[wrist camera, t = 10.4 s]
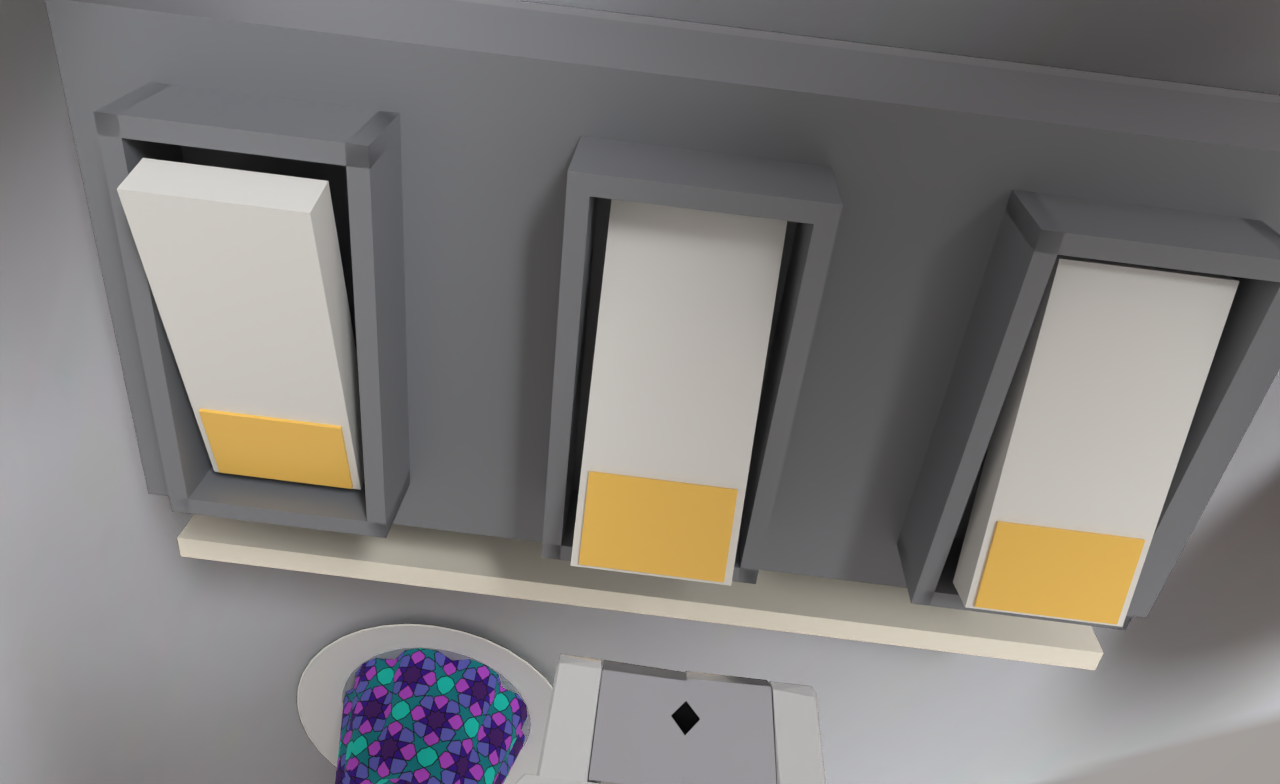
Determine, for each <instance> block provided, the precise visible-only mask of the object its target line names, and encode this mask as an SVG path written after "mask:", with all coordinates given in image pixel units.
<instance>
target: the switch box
mask: <svg viewBox="0 0 1280 784" xmlns="http://www.w3.org/2000/svg"><path fill="white" fill-rule="evenodd" d="M45 4H46V8H47V13H48V18H49V23H50V27H51V32H52V37H53V42H54V47H55V51H56V56H57V61H58V66H59V70H60V75H61V80H62V85H63V89H64V94H65V99H66V104H67V108H68V113H69V118H70V123H71V127H72V132H73V137H74V142H75V146H76V151H77V156H78V161H79V165H80V170H81V175H82V180H83V184H84V189H85V194H86V199H87V203H88V208H89V213H90V218H91V223H92V227H93V232H94V237H95V242H96V246H97V251H98V256H99V261H100V265H101V270H102V275H103V280H104V284H105V289H106V294H107V299H108V303H109V308H110V313H111V318H112V322H113V327H114V332H115V337H116V341H117V346H118V351H119V356H120V360H121V365H122V370H123V375H124V379H125V384H126V389H127V394H128V399H129V403H130V408H131V413H132V418H133V422H134V427H135V432H136V437H137V441H138V446H139V451H140V456H141V460H142V465H143V470H144V475H145V479H146V484H147V489H148V493H149V494H157V495H165V496H169V499H170V504H171V509H172V512H180V513H189V514H194V515H193V516H192V518H191V519H190V521H189V522H188V523H187V525H186V526H185V528H184V529H183V530H182V532H181V533H180V535H179V536H178V537H177V539H178V544H179V549H180V555H181V556H182V557H190V558H198V559H206V560H214V561H222V562H230V563H238V564H246V565H254V566H262V567H270V568H278V569H286V570H294V571H302V572H310V573H318V574H326V575H334V576H342V577H350V578H358V579H366V580H374V581H382V582H390V583H398V584H406V585H414V586H422V587H430V588H438V589H446V590H454V591H462V592H471V593H479V594H487V595H495V596H503V597H511V598H519V599H527V600H535V601H543V602H551V603H559V604H567V605H575V606H583V607H591V608H599V609H607V610H615V611H623V612H631V613H639V614H647V615H655V616H663V617H671V618H679V619H687V620H695V621H703V622H711V623H719V624H727V625H735V626H743V627H751V628H759V629H768V630H776V631H784V632H792V633H800V634H808V635H816V636H824V637H832V638H840V639H848V640H856V641H864V642H872V643H880V644H888V645H896V646H904V647H912V648H920V649H928V650H936V651H944V652H952V653H960V654H968V655H976V656H984V657H992V658H1000V659H1008V660H1016V661H1024V662H1032V663H1040V664H1048V665H1057V666H1065V667H1073V668H1081V669H1089V670H1095V669H1096V667H1097V665H1098V663H1099V661H1100V659H1101V657H1102V655H1103V651H1102V648H1101V646H1100V644H1099V642H1098V639H1097V637H1096V635H1095V633H1094V631H1093V628H1092V626H1096V627H1104V628H1112V629H1120V630H1126V628H1127V626H1128V624H1129V622H1130V620H1131V618H1132V616H1136V617H1144V618H1146V617H1147V616H1148V614H1149V612H1150V610H1151V608H1152V606H1153V604H1154V603H1155V601H1156V599H1157V597H1158V595H1159V593H1160V591H1161V589H1162V588H1163V586H1164V584H1165V582H1166V580H1167V578H1168V576H1169V574H1170V573H1171V571H1172V569H1173V567H1174V565H1175V563H1176V561H1177V559H1178V558H1179V556H1180V554H1181V552H1182V550H1183V548H1184V546H1185V544H1186V543H1187V541H1188V539H1189V537H1190V535H1191V533H1192V531H1193V530H1194V528H1195V526H1196V524H1197V522H1198V520H1199V518H1200V516H1201V515H1202V513H1203V511H1204V509H1205V507H1206V505H1207V503H1208V501H1209V500H1210V498H1211V496H1212V494H1213V492H1214V490H1215V488H1216V486H1217V485H1218V483H1219V481H1220V479H1221V477H1222V475H1223V473H1224V471H1225V470H1226V468H1227V466H1228V464H1229V462H1230V460H1231V458H1232V456H1233V455H1234V453H1235V451H1236V449H1237V447H1238V445H1239V443H1240V442H1241V440H1242V438H1243V436H1244V434H1245V432H1246V430H1247V428H1248V427H1249V425H1250V423H1251V421H1252V419H1253V417H1254V415H1255V413H1256V412H1257V410H1258V408H1259V406H1260V404H1261V402H1262V400H1263V398H1264V397H1265V395H1266V393H1267V391H1268V389H1269V387H1270V385H1271V383H1272V382H1273V380H1274V378H1275V376H1276V374H1277V372H1278V370H1279V369H1280V95H1273V94H1265V93H1257V92H1249V91H1241V90H1233V89H1225V88H1217V87H1209V86H1201V85H1193V84H1185V83H1177V82H1169V81H1161V80H1153V79H1145V78H1137V77H1129V76H1121V75H1112V74H1104V73H1096V72H1088V71H1080V70H1072V69H1064V68H1056V67H1048V66H1040V65H1032V64H1024V63H1016V62H1008V61H1000V60H992V59H984V58H976V57H968V56H960V55H952V54H944V53H936V52H928V51H920V50H912V49H904V48H896V47H888V46H880V45H872V44H864V43H856V42H848V41H840V40H832V39H824V38H816V37H808V36H800V35H792V34H784V33H776V32H768V31H760V30H752V29H744V28H736V27H727V26H719V25H711V24H703V23H695V22H687V21H679V20H671V19H663V18H655V17H647V16H639V15H631V14H623V13H615V12H607V11H599V10H591V9H583V8H575V7H567V6H559V5H551V4H543V3H535V2H527V1H519V0H45ZM142 158H148V159H156V160H164V161H172V162H180V163H188V164H196V165H204V166H212V167H220V168H229V169H237V170H245V171H253V172H261V173H269V174H277V175H285V176H293V177H301V178H309V179H317V180H325V181H329V188H330V194H331V200H332V206H333V212H334V218H335V224H336V230H337V237H338V243H339V249H340V255H341V261H342V267H343V273H344V280H345V286H346V292H347V298H348V304H349V310H350V316H351V323H352V329H353V335H354V341H355V347H356V353H357V359H358V376H359V393H360V411H361V428H362V445H363V462H364V479H365V480H364V483H363V485H362V488H361V490H359V489H348V488H340V487H332V486H324V485H316V484H308V483H300V482H292V481H284V480H276V479H268V478H260V477H252V476H244V475H236V474H228V473H220V472H215V471H214V469H213V466H212V463H211V460H210V458H209V455H208V452H207V449H206V446H205V443H204V440H203V437H202V434H201V432H200V429H199V426H198V423H197V420H196V417H195V414H194V411H193V408H192V406H191V403H190V400H189V397H188V394H187V391H186V388H185V385H184V382H183V379H182V377H181V374H180V371H179V368H178V365H177V362H176V359H175V356H174V353H173V351H172V348H171V345H170V342H169V339H168V336H167V333H166V330H165V327H164V325H163V322H162V319H161V316H160V313H159V310H158V307H157V304H156V301H155V298H154V296H153V293H152V290H151V287H150V284H149V281H148V278H147V275H146V272H145V270H144V267H143V264H142V261H141V258H140V255H139V252H138V249H137V246H136V243H135V241H134V238H133V235H132V232H131V229H130V226H129V223H128V220H127V217H126V215H125V212H124V209H123V206H122V203H121V200H120V197H119V194H118V191H117V188H118V187H119V185H120V184H121V183H122V182H123V181H124V180H125V178H126V177H127V176H128V175H129V174H130V172H131V171H132V170H133V169H134V168H135V167H136V165H137V164H138V163H139V162H140V161H141V160H142ZM612 199H615V200H623V201H631V202H639V203H647V204H655V205H663V206H671V207H679V208H687V209H695V210H703V211H711V212H719V213H727V214H735V215H744V216H752V217H760V218H768V219H776V220H784V221H787V226H786V233H785V239H784V246H783V252H782V259H781V265H780V272H779V278H778V285H777V291H776V298H775V304H774V311H773V317H772V324H771V330H770V337H769V343H768V350H767V356H766V363H765V369H764V376H763V382H762V389H761V395H760V402H759V408H758V415H757V421H756V427H755V434H754V440H753V447H752V453H751V460H750V466H749V473H748V479H747V486H746V492H745V499H744V505H743V512H742V518H741V525H740V531H739V538H738V544H737V551H736V557H735V564H734V570H733V577H732V583H731V586H729V585H721V584H713V583H705V582H697V581H689V580H681V579H673V578H665V577H657V576H649V575H641V574H633V573H625V572H617V571H609V570H601V569H593V568H585V567H577V566H570V565H571V556H572V547H573V538H574V529H575V520H576V512H577V503H578V494H579V485H580V476H581V467H582V458H583V449H584V440H585V432H586V423H587V414H588V405H589V396H590V387H591V378H592V369H593V360H594V351H595V343H596V334H597V325H598V316H599V307H600V298H601V289H602V280H603V271H604V263H605V254H606V245H607V236H608V227H609V218H610V209H611V200H612ZM1057 255H1064V256H1072V257H1080V258H1088V259H1097V260H1105V261H1113V262H1121V263H1129V264H1137V265H1145V266H1153V267H1161V268H1169V269H1177V270H1185V271H1193V272H1201V273H1209V274H1217V275H1225V276H1229V277H1232V278H1234V279H1236V280H1238V281H1239V284H1238V287H1237V290H1236V293H1235V296H1234V299H1233V302H1232V305H1231V308H1230V311H1229V314H1228V317H1227V320H1226V322H1225V325H1224V328H1223V331H1222V334H1221V337H1220V340H1219V343H1218V346H1217V349H1216V352H1215V355H1214V358H1213V361H1212V364H1211V367H1210V370H1209V373H1208V376H1207V379H1206V381H1205V384H1204V387H1203V390H1202V393H1201V396H1200V399H1199V402H1198V405H1197V408H1196V411H1195V414H1194V417H1193V420H1192V423H1191V426H1190V429H1189V432H1188V435H1187V438H1186V441H1185V443H1184V446H1183V449H1182V452H1181V455H1180V458H1179V461H1178V464H1177V467H1176V470H1175V473H1174V476H1173V479H1172V482H1171V485H1170V488H1169V491H1168V494H1167V497H1166V500H1165V502H1164V505H1163V508H1162V511H1161V514H1160V517H1159V520H1158V523H1157V526H1156V529H1155V532H1154V535H1153V538H1152V541H1151V544H1150V547H1149V550H1148V553H1147V556H1146V559H1145V562H1144V564H1143V567H1142V570H1141V573H1140V576H1139V579H1138V582H1137V585H1136V588H1135V591H1134V594H1133V597H1132V600H1131V603H1130V606H1129V609H1128V612H1127V615H1126V618H1125V621H1124V623H1123V626H1122V627H1119V626H1111V625H1103V624H1095V623H1087V622H1079V621H1071V620H1063V619H1055V618H1046V617H1038V616H1030V615H1022V614H1014V613H1006V612H998V611H990V610H982V609H974V608H966V607H965V606H964V604H963V602H962V600H961V598H960V596H959V594H958V592H957V590H956V588H955V586H954V584H953V580H954V576H955V572H956V568H957V565H958V561H959V557H960V553H961V549H962V546H963V542H964V538H965V534H966V530H967V527H968V523H969V519H970V515H971V511H972V508H973V504H974V500H975V496H976V492H977V489H978V485H979V481H980V477H981V473H982V470H983V466H984V462H985V458H986V454H987V451H988V447H989V443H990V439H991V436H992V433H993V430H994V427H995V425H996V422H997V419H998V416H999V414H1000V411H1001V408H1002V405H1003V403H1004V400H1005V397H1006V395H1007V392H1008V389H1009V386H1010V384H1011V381H1012V378H1013V375H1014V373H1015V370H1016V367H1017V364H1018V362H1019V359H1020V356H1021V353H1022V351H1023V348H1024V345H1025V342H1026V340H1027V337H1028V334H1029V331H1030V329H1031V326H1032V323H1033V320H1034V318H1035V315H1036V312H1037V310H1038V307H1039V304H1040V301H1041V299H1042V296H1043V293H1044V290H1045V288H1046V285H1047V282H1048V279H1049V277H1050V274H1051V271H1052V268H1053V266H1054V263H1055V260H1056V257H1057Z"/></svg>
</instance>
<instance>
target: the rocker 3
mask: <svg viewBox="0 0 1280 784" xmlns="http://www.w3.org/2000/svg"><path fill="white" fill-rule="evenodd" d="M1238 284H1239V281H1238V280H1236V279H1234V278H1232V277H1229V276H1225V275H1217V274H1209V273H1201V272H1193V271H1185V270H1177V269H1169V268H1161V267H1153V266H1145V265H1137V264H1129V263H1121V262H1113V261H1105V260H1097V259H1088V258H1080V257H1072V256H1064V255H1057V257H1056V260H1055V263H1054V266H1053V268H1052V271H1051V274H1050V277H1049V279H1048V282H1047V285H1046V288H1045V290H1044V293H1043V296H1042V299H1041V301H1040V304H1039V307H1038V310H1037V312H1036V315H1035V318H1034V320H1033V323H1032V326H1031V329H1030V331H1029V334H1028V337H1027V340H1026V342H1025V345H1024V348H1023V351H1022V353H1021V356H1020V359H1019V362H1018V364H1017V367H1016V370H1015V373H1014V375H1013V378H1012V381H1011V384H1010V386H1009V389H1008V392H1007V395H1006V397H1005V400H1004V403H1003V405H1002V408H1001V411H1000V414H999V416H998V419H997V422H996V425H995V427H994V430H993V433H992V436H991V439H990V443H989V447H988V451H987V454H986V458H985V462H984V466H983V470H982V473H981V477H980V481H979V485H978V489H977V492H976V496H975V500H974V504H973V508H972V511H971V515H970V519H969V523H968V527H967V530H966V534H965V538H964V542H963V546H962V549H961V553H960V557H959V561H958V565H957V568H956V572H955V576H954V580H953V584H954V586H955V588H956V590H957V592H958V594H959V596H960V598H961V600H962V602H963V604H964V606H965V607H966V608H974V609H982V610H990V611H998V612H1006V613H1014V614H1022V615H1030V616H1038V617H1046V618H1055V619H1063V620H1071V621H1079V622H1087V623H1095V624H1103V625H1111V626H1119V627H1122V626H1123V623H1124V621H1125V618H1126V615H1127V612H1128V609H1129V606H1130V603H1131V600H1132V597H1133V594H1134V591H1135V588H1136V585H1137V582H1138V579H1139V576H1140V573H1141V570H1142V567H1143V564H1144V562H1145V559H1146V556H1147V553H1148V550H1149V547H1150V544H1151V541H1152V538H1153V535H1154V532H1155V529H1156V526H1157V523H1158V520H1159V517H1160V514H1161V511H1162V508H1163V505H1164V502H1165V500H1166V497H1167V494H1168V491H1169V488H1170V485H1171V482H1172V479H1173V476H1174V473H1175V470H1176V467H1177V464H1178V461H1179V458H1180V455H1181V452H1182V449H1183V446H1184V443H1185V441H1186V438H1187V435H1188V432H1189V429H1190V426H1191V423H1192V420H1193V417H1194V414H1195V411H1196V408H1197V405H1198V402H1199V399H1200V396H1201V393H1202V390H1203V387H1204V384H1205V381H1206V379H1207V376H1208V373H1209V370H1210V367H1211V364H1212V361H1213V358H1214V355H1215V352H1216V349H1217V346H1218V343H1219V340H1220V337H1221V334H1222V331H1223V328H1224V325H1225V322H1226V320H1227V317H1228V314H1229V311H1230V308H1231V305H1232V302H1233V299H1234V296H1235V293H1236V290H1237V287H1238Z"/></svg>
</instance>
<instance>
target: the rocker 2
mask: <svg viewBox="0 0 1280 784" xmlns="http://www.w3.org/2000/svg"><path fill="white" fill-rule="evenodd" d="M786 226H787V221H784V220H776V219H768V218H760V217H752V216H744V215H735V214H727V213H719V212H711V211H703V210H695V209H687V208H679V207H671V206H663V205H655V204H647V203H639V202H631V201H623V200H615V199H612V200H611V209H610V218H609V227H608V236H607V245H606V254H605V263H604V271H603V280H602V289H601V298H600V307H599V316H598V325H597V334H596V343H595V351H594V360H593V369H592V378H591V387H590V396H589V405H588V414H587V423H586V432H585V440H584V449H583V458H582V467H581V476H580V485H579V494H578V503H577V512H576V520H575V529H574V538H573V547H572V556H571V565H570V566H577V567H585V568H593V569H601V570H609V571H617V572H625V573H633V574H641V575H649V576H657V577H665V578H673V579H681V580H689V581H697V582H705V583H713V584H721V585H729V586H731V583H732V577H733V570H734V564H735V557H736V551H737V544H738V538H739V531H740V525H741V518H742V512H743V505H744V499H745V492H746V486H747V479H748V473H749V466H750V460H751V453H752V447H753V440H754V434H755V427H756V421H757V415H758V408H759V402H760V395H761V389H762V382H763V376H764V369H765V363H766V356H767V350H768V343H769V337H770V330H771V324H772V317H773V311H774V304H775V298H776V291H777V285H778V278H779V272H780V265H781V259H782V252H783V246H784V239H785V233H786Z"/></svg>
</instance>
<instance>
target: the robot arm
mask: <svg viewBox="0 0 1280 784" xmlns="http://www.w3.org/2000/svg"><path fill="white" fill-rule="evenodd" d="M601 671H602V676H601ZM600 680H601V683H600ZM599 689H600V691H599ZM514 784H826V779H825V770H824V761H823V751H822V742H821V733H820V724H819V714H818V705H817V696H816V693H815V691H814V689H813V687H812V686H805V685H797V684H788V683H780V682H772V681H770V682H768V681H767V680H761V679H752V678H743V677H734V676H725V675H716V674H707V673H699V672H690V671H685V672H680V671H673V670H667V669H660V668H653V667H647V666H640V665H634V664H627V663H621V662H614V661H607V660H604V662H603V669H602V660H598V659H591V658H584V657H577V656H570V655H563V654H561V655H560V658H559V660H558V663H557V666H556V672H555V677H554V683H553V688H552V694H551V699H550V704H549V710H548V715H547V721H546V726H545V732H544V737H543V743H542V748H541V754H540V759H539V765H538V770H537V775H531V774H523V775H522V776H521V777H520V778H519V779H518V780H517V781H516V782H515V783H514Z"/></svg>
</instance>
